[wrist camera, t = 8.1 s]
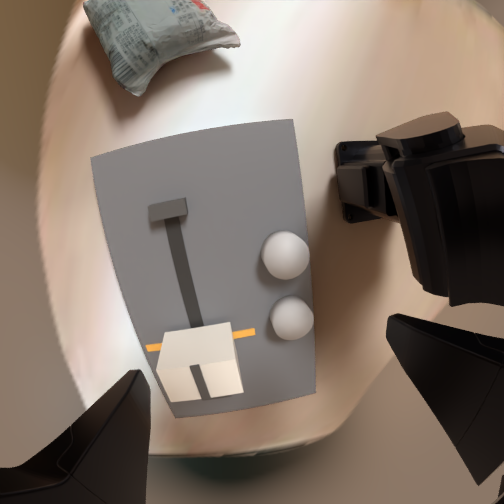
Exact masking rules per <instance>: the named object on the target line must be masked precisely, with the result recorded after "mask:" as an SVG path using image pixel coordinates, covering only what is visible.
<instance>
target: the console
mask: <svg viewBox="0 0 504 504" xmlns="http://www.w3.org/2000/svg"><path fill="white" fill-rule="evenodd" d="M90 159H91V166H92V172H93V178H94V184H95V190H96V195H97V200H98V205H99V210H100V215H101V219H102V223H103V228H104V232H105V236H106V240H107V244H108V248H109V251H110V255H111V259H112V262H113V266H114V269H115V272H116V276H117V279H118V282H119V285H120V289H121V292H122V295H123V298H124V301H125V304H126V306H127V309H128V312H129V315H130V318H131V320H132V323H133V326H134V328H135V331H136V334H137V336H138V339H139V341H140V344H141V346H142V348H143V351H144V353H145V356H146V358H147V360H148V363H149V365H150V367H151V369H152V372H153V374H154V376H155V378H156V380H157V382H158V385H159V387H160V389H161V391H162V393H163V395H164V397H165V399H166V401H167V403H168V405H169V407H170V409H171V411H172V413H173V414H174V416H175V418H182V417H193V416H202V415H210V414H218V413H225V412H231V411H237V410H243V409H249V408H254V407H259V406H264V405H269V404H273V403H278V402H282V401H286V400H290V399H295V398H298V397H302V396H306V395H310V394H313V393H316V369H315V336H314V314H313V296H312V281H311V267H310V254H309V244H308V233H307V223H306V213H305V204H304V195H303V187H302V179H301V171H300V164H299V156H298V149H297V142H296V136H295V129H294V123H293V119H284V120H272V121H262V122H253V123H244V124H237V125H230V126H223V127H216V128H210V129H204V130H199V131H193V132H188V133H183V134H178V135H173V136H169V137H164V138H160V139H155V140H151V141H147V142H143V143H139V144H135V145H132V146H128V147H124V148H121V149H117V150H114V151H111V152H107V153H104V154H101V155H98V156H94V157H91V158H90ZM226 322H230V324H231V329H232V333H233V338H234V342H235V347H236V351H237V356H238V362H239V368H240V374H241V380H242V386H243V391H244V392H243V393H238V394H232V395H226V396H219V397H213V398H211V400H204V401H202V399H197V400H189V401H179V402H171V401H170V399H169V397H168V395H167V393H166V391H165V389H164V387H163V385H162V383H161V380H160V378H159V376H158V374H157V371H156V368H157V364H158V359H159V355H160V350H161V346H162V342H163V338H164V334H165V332H171V331H178V330H185V329H191V328H197V327H203V326H209V325H215V324H221V323H226Z"/></svg>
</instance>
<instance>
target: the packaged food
mask: <svg viewBox="0 0 504 504" xmlns="http://www.w3.org/2000/svg"><path fill="white" fill-rule="evenodd" d="M83 8H84V10H85V13H86V15H87V16H88V19H89V21H90V24H91V26H92V27H93V29H94V30H95V33H96V35H97V36H98V38H99V39H100V43H101V45H102V47H103V49H104V52H105V53H106V55H107V57H108V59H109V61H110V63H111V69H112V75H113V78H114V79H115V80H116V81H117V82H118V84H119V85H120V86H121V87H122V88H123V89H125V90H127V91H129V92H131V93H132V94H134V95H136V96H141V95H142V94H143V93H144V92H145V91H146V88H147V86H148V83H149V81H150V80H151V78H152V77H153V75H154V74H155V73H156V72H157V71H158V70H159V69H160V68H161V67H162V66H163V65H164V64H165V63H167V62H168V61H170V60H173V59H176V58H178V57H180V56H183V55H187V54H193V53H197V52H202V51H206V50H212V49H216V48H221V47H223V48H227V49H228V48H230V47H232V48H235V47H240V45H241V44H240V39H239V37H238V35H237V34H236V33H235V32H234V30H233V29H232V28H231V27H230V26H229V25H227V24H225V23H222V22H220V21H218V20H217V18H216V17H215V15H214V14H213V12H212V11H211V10H210V8H209V7H208V6H207V5H206V4H205V3H204V2H203V1H202V0H88V1H85V2H84V3H83Z"/></svg>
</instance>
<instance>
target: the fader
mask: <svg viewBox="0 0 504 504" xmlns="http://www.w3.org/2000/svg"><path fill="white" fill-rule="evenodd" d="M156 371H157V374H158V376H159V378H160V380H161V383H162V385H163V387H164V389H165V391H166V393H167V395H168V397H169V399H170V401H171V402H179V401H189V400H197V399H202V401H204V400H211V398H213V397H219V396H226V395H232V394H238V393H243V392H244V391H243V386H242V380H241V374H240V368H239V362H238V356H237V351H236V347H235V342H234V338H233V333H232V329H231V324H230V322H226V323H221V324H215V325H209V326H203V327H197V328H191V329H185V330H178V331H171V332H165V334H164V338H163V342H162V346H161V350H160V355H159V359H158V364H157V368H156Z"/></svg>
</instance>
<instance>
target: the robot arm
mask: <svg viewBox="0 0 504 504" xmlns="http://www.w3.org/2000/svg"><path fill="white" fill-rule="evenodd" d="M376 138H377V141H346V142H339V143H338V144H337V146H336V151H337V158H338V168H337V177H338V187H339V197H340V200H341V201H342V207H343V218H344V220H345V221H346V222H348V223H356V222H362V221H368V220H374V219H380V218H385V219H388V220H391V221H394V222H397V223H400V224H401V228H402V232H403V236H404V239H405V243H406V248H407V252H408V256H409V260H410V265H411V269H412V273H413V276H414V277H415V278H416V280H417V281H418V282H419V283H420V284H421V285H422V286H423V290H424V291H427V292H429V293H431V294H433V295H438V296H443V297H449V305H450V306H451V307H453V306H458V305H462V304H466V303H490V304H495V305H500V306H504V131H503V130H501V129H499V128H497V127H495V126H493V125H480V126H472V127H465V128H461V126H460V123H459V120H458V119H456V118H455V117H454V116H453V115H452V114H450V113H449V112H441V113H436V114H431V115H427V116H422V117H420V118H417V119H414V120H412V121H409V122H407V123H404V124H402V125H400V126H397V127H395V128H392V129H390V130H387V131H385V132H383V133H380V134H378V135H376ZM342 145H343V146H344V147H345V150H344V151H343V150H342V149H341V146H342ZM350 214H351V218H350V219H348V216H349V215H350ZM386 338H387V341H388V343H389V344H390V346H391V348H392V350H393V351H394V353H395V355H396V357H397V359H398V360H399V362H400V364H401V366H402V367H403V369H404V371H405V372H406V374H407V375H408V377H409V378H410V379H411V381H412V382H413V384H414V385H415V387H416V388H417V389H418V391H419V392H420V394H421V395H422V397H423V398H424V400H425V401H426V403H427V404H428V406H429V407H430V409H431V410H432V412H433V413H434V415H435V416H436V418H437V419H438V421H439V422H440V424H441V425H442V427H443V429H444V430H445V432H446V433H447V435H448V436H449V438H450V440H451V441H452V443H453V445H454V446H455V447H456V450H457V451H458V453H459V455H460V456H461V458H462V459H463V461H464V463H465V465H466V466H467V468H468V470H469V472H470V473H471V475H472V477H473V479H474V480H475V482H476V484H477V485H478V486H479V485H480V484H482V483H483V482H484V481H485V480H486V479H487V478H488V477H490V476H491V475H492V474H493V473H494V472H495V471H496V470H497V469H498V468H499V467H500V466H502V465H503V464H504V339H503V338H497V337H492V336H487V335H482V334H478V333H473V332H470V331H465V330H462V329H458V328H454V327H450V326H446V325H441V324H438V323H434V322H430V321H426V320H422V319H418V318H414V317H411V316H407V315H403V314H399V313H397V314H394V315H391V316H389V317H388V320H387V329H386ZM150 429H151V413H150V387H149V385H148V383H147V381H146V379H145V376H144V374H143V372H142V371H141V370H139V369H137V370H129V371H128V372H127V373H126V374H125V375H124V376H123V377H122V378H121V379H120V380H119V381H117V382H116V383H115V384H114V385H113V386H112V387H111V388H110V389H109V390H108V391H107V392H106V393H105V394H104V395H103V396H101V397H100V398H99V399H98V400H97V401H96V402H95V403H94V404H93V405H92V406H91V407H90V408H89V409H88V410H87V411H85V412H84V413H83V414H82V415H81V416H80V417H79V418H78V419H77V420H76V421H75V422H74V423H73V424H72V425H71V426H69V427H68V428H67V429H66V430H65V431H64V432H63V433H62V434H61V435H60V436H58V437H57V438H56V439H55V440H54V441H53V442H51V443H50V444H49V445H48V446H46V447H45V448H44V449H42V450H41V451H40V452H38V453H37V454H36V455H34V456H33V457H32V458H30V459H29V460H28V461H26V462H25V463H23V464H22V465H20V466H17V467H12V468H0V504H146V501H145V500H146V480H147V464H148V451H149V440H150ZM492 504H504V475H503V476H502V480H501V485H500V490H499V495H498V498H497V499H496V500H495V501H494V502H493V503H492Z"/></svg>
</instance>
